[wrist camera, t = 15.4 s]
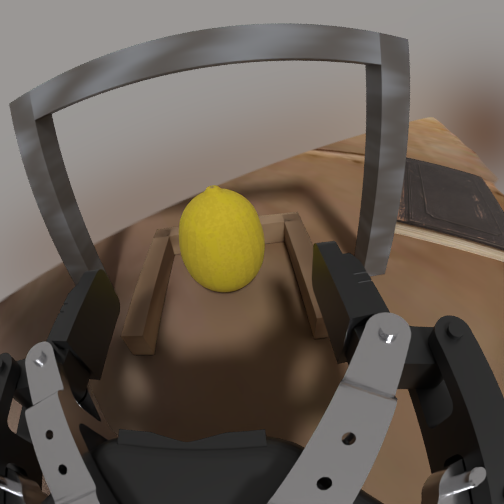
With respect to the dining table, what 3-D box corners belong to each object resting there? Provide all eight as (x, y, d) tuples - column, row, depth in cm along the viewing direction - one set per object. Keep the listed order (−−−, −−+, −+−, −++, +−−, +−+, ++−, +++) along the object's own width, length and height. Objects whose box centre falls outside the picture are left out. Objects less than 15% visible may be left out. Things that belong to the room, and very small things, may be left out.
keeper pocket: (70, 352, 16) (-42, 123, 6) (113, 253, 26) (64, 89, 16) (411, 318, 16) (463, 38, 6) (351, 224, 26) (355, 45, 16)
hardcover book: (478, 189, 34) (481, 176, 32) (517, 272, 18) (526, 254, 16) (395, 168, 40) (397, 155, 39) (387, 238, 25) (391, 217, 23)
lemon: (183, 283, 21) (155, 189, 17) (242, 256, 24) (230, 164, 19) (215, 328, 17) (185, 220, 13) (283, 291, 20) (279, 186, 15)
